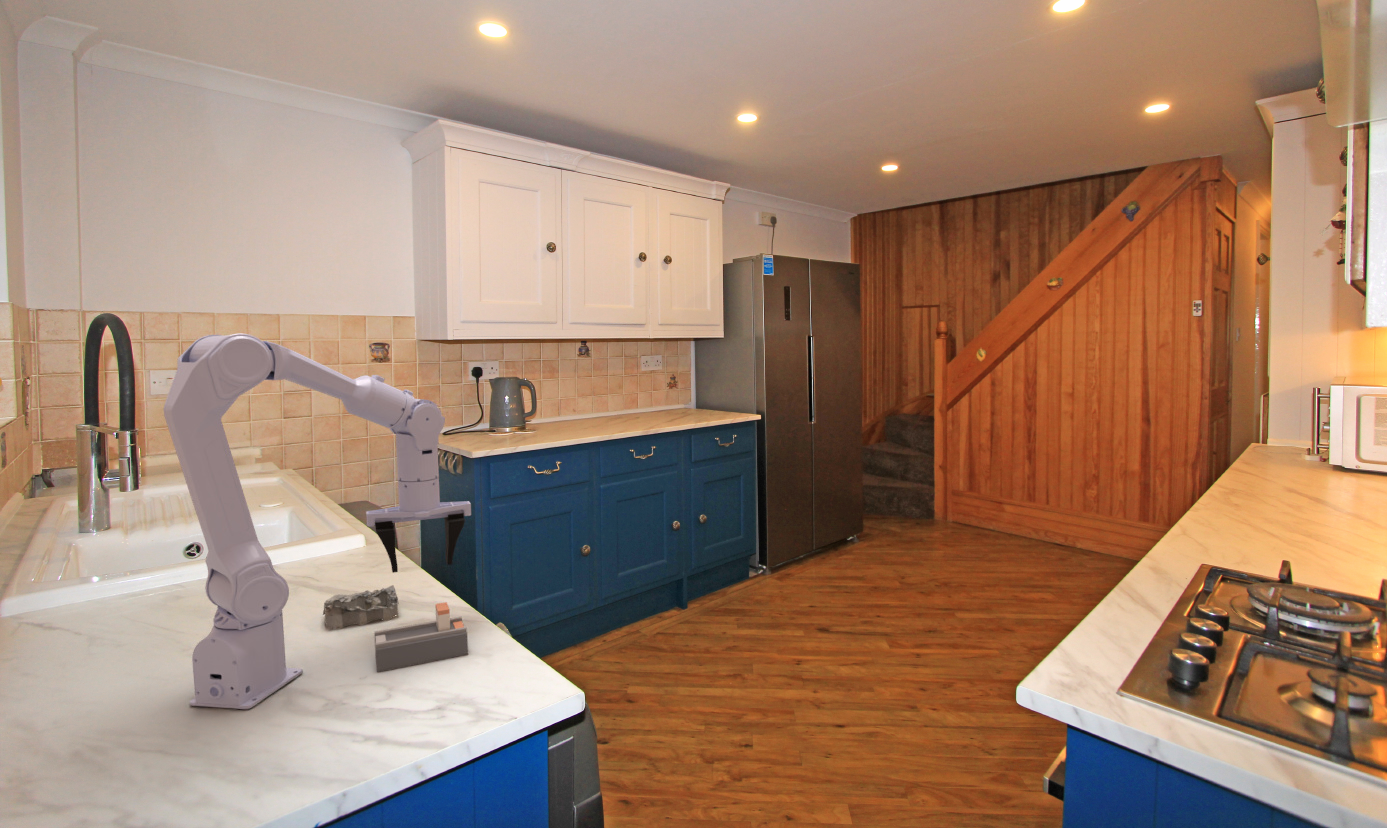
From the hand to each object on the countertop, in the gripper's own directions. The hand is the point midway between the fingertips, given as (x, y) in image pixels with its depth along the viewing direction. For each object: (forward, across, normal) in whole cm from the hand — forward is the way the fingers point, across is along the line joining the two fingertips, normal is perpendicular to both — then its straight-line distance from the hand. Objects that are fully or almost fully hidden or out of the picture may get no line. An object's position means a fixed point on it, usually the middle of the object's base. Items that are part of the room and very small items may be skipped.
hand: (422, 566), depth 103 cm
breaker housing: (+9, -1, -10) cm, 14 cm away
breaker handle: (+6, +2, -10) cm, 12 cm away
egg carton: (+10, -9, +9) cm, 16 cm away
